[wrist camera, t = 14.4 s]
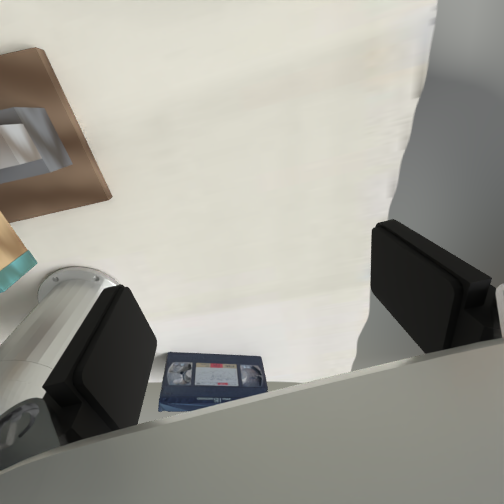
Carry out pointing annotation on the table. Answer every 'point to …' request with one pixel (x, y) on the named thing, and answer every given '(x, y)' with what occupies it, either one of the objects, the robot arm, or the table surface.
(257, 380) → the vhs cassette tape
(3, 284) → the oak beam
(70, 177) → the fulcrum stand
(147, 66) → the table surface
